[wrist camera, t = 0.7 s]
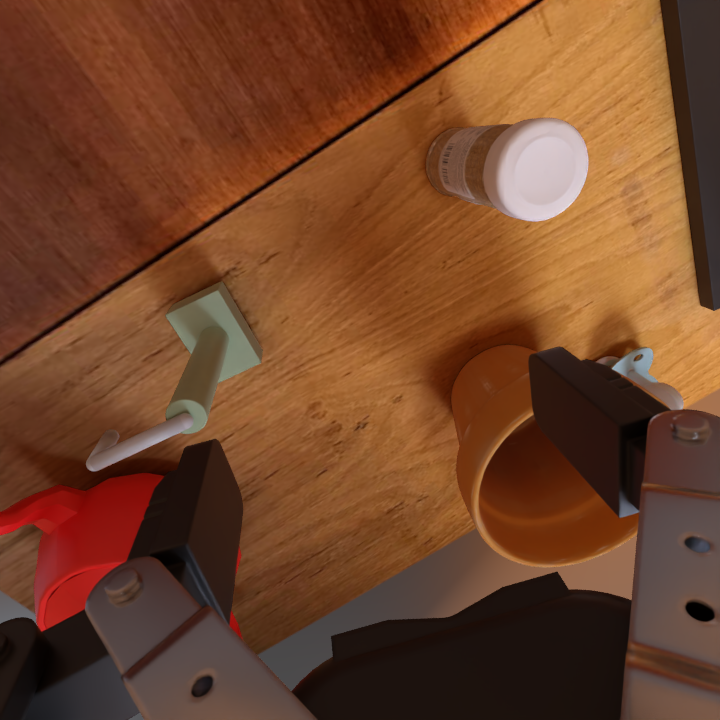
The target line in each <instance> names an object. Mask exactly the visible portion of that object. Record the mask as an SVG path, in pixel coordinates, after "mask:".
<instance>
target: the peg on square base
mask: <svg viewBox="0 0 720 720" xmlns="http://www.w3.org/2000/svg"><path fill="white" fill-rule="evenodd" d="M165 316H166V318H167V319H168V321H169V322H170V324H171V325H172V327H173V328H174V330H175V331H176V333H177V334H178V336H179V337H180V339H181V340H182V342H183V343H184V345H185V346H186V348H187V349H188V351H189V352H190V354H191V357H190V359H189V361H188V363H187V366H186V368H185V370H184V372H183V374H182V377H181V379H180V381H179V383H178V386H177V388H176V390H175V392H174V394H173V397H172V399H171V401H170V403H169V406H168V408H167V410H166V420H167V421H165V422H163V423H161V424H159V425H157V426H154V427H152V428H150V429H148V430H146V431H144V432H142V433H139V434H137V435H135V436H133V437H131V438H129V439H127V440H124V441H122V442H120V443H118V444H116V443H117V441H118V439H119V434H118V432H117V431H116V430H113V429H110V430H107V431H106V432H105V433H104V434H103V435H102V437H101V439H100V440H99V442H98V443H97V445H96V447H95V448H94V450H93V451H92V453H91V454H90V456H89V458H88V459H87V461H86V466H87V468H88V469H89V470H90V471H98V470H101V469H103V468H105V467H107V466H109V465H111V464H113V463H116V462H118V461H120V460H122V459H124V458H126V457H129V456H131V455H133V454H135V453H137V452H139V451H141V450H144V449H146V448H148V447H150V446H152V445H154V444H157V443H159V442H161V441H163V440H165V439H167V438H169V437H172V436H174V435H176V434H178V433H184V434H191V433H195V432H198V431H199V430H201V429H202V428H203V427H204V426H205V424H206V422H207V419H208V415H209V412H210V408H211V405H212V402H213V398H214V395H215V391H216V388H217V384H218V383H219V382H221V381H224V380H226V379H228V378H230V377H232V376H234V375H236V374H239V373H241V372H243V371H245V370H247V369H249V368H251V367H253V366H256V365H258V364H260V363H261V360H262V352H263V350H262V348H261V346H260V345H259V343H258V341H257V340H256V338H255V336H254V334H253V333H252V331H251V329H250V328H249V326H248V324H247V322H246V321H245V319H244V317H243V316H242V314H241V312H240V311H239V309H238V307H237V305H236V304H235V302H234V300H233V299H232V297H231V295H230V294H229V292H228V290H227V288H226V287H225V285H224V283H223V282H222V281H221V282H219V283H216V284H214V285H212V286H210V287H208V288H206V289H204V290H202V291H200V292H198V293H196V294H194V295H191V296H189V297H187V298H185V299H183V300H181V301H179V302H177V303H175V304H173V305H172V306H171V308H170V309H169V310H168V312H167V313H166V315H165Z"/></svg>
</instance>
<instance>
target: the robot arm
mask: <svg viewBox="0 0 720 720" xmlns="http://www.w3.org/2000/svg"><path fill="white" fill-rule="evenodd" d="M528 367H529V378H530V388H531V399H532V409H533V413H534V417H535V420H536V422H537V424H538V426H539V428H540V429H541V431H542V432H543V433H544V434H545V435H546V436H547V438H548V439H549V440H550V441H551V442H552V443H553V444H554V445H555V447H556V448H557V449H558V450H559V451H560V452H561V453H562V454H563V455H564V457H565V458H566V459H567V460H568V461H569V462H570V463H571V464H572V466H573V467H574V468H575V469H576V470H577V471H578V472H579V473H580V475H581V476H582V477H583V478H584V479H585V480H586V481H587V482H588V483H589V485H590V486H591V487H592V488H593V489H594V490H595V491H596V492H597V494H598V495H599V496H600V497H601V498H602V499H603V500H604V501H605V503H606V504H607V505H608V506H609V507H610V508H611V509H612V510H613V511H614V513H615V514H616V515H617V516H618V517H619V518H622V517H625V516H629V515H632V514H636V513H639V519H638V531H637V543H636V555H635V568H634V579H633V591H632V600H629V599H626V598H623V597H620V596H616V595H612V594H609V593H604V592H598V591H591V590H569V589H568V588H567V586H566V585H565V583H564V581H563V580H562V578H561V577H560V575H559V574H558V572H555V573H551V574H547V575H544V576H540V577H537V578H533V579H530V580H526V581H523V582H519V583H516V584H512V585H509V586H505V587H502V588H500V589H499V590H497V591H495V592H493V593H492V594H490V595H488V596H486V597H485V598H483V599H481V600H480V601H478V602H476V603H474V604H473V605H471V606H469V607H467V608H466V609H464V610H462V611H460V612H459V613H457V614H455V615H453V616H450V617H446V618H428V619H406V620H405V619H403V620H387V621H382V622H379V623H375V624H372V625H369V626H365V627H361V628H358V629H354V630H351V631H347V632H344V633H341V634H337V635H334V636H331V639H332V651H333V657H332V658H330V659H329V660H327V661H325V662H323V663H322V664H321V665H319V666H318V667H316V668H315V669H314V670H312V671H311V672H310V673H309V674H308V675H307V676H306V677H305V678H304V679H302V680H301V681H300V682H299V684H298V685H297V686H296V687H295V688H294V689H293V690H292V691H290V690H289V689H288V688H287V687H286V685H284V684H283V682H282V681H281V680H280V679H279V678H278V677H277V676H276V675H275V674H274V673H273V672H272V671H271V670H270V668H268V666H266V664H265V663H264V662H263V661H262V660H261V659H260V658H259V657H258V656H257V655H256V654H255V653H254V651H253V650H252V649H251V648H250V647H249V646H248V645H247V644H246V643H245V642H244V641H243V640H242V639H241V638H240V637H239V636H238V634H237V633H236V632H235V631H234V630H233V629H232V628H231V627H230V626H229V625H230V616H231V608H232V600H233V591H234V583H235V575H236V566H237V558H238V550H239V541H240V533H241V525H242V516H243V503H242V497H241V493H240V490H239V487H238V484H237V482H236V480H235V477H234V475H233V472H232V470H231V468H230V465H229V463H228V461H227V458H226V456H225V453H224V451H223V449H222V446H221V444H220V443H219V441H218V440H217V439H213V440H209V441H205V442H201V443H198V444H194V445H190V446H187V447H185V448H184V451H183V454H182V456H181V459H180V462H179V465H178V468H177V470H174V471H170V472H168V473H167V474H166V475H165V476H164V478H163V479H162V480H161V481H160V482H159V483H158V485H157V486H156V487H155V488H154V491H153V493H152V496H151V499H150V501H149V506H148V507H147V509H146V511H145V514H144V520H142V522H141V524H140V527H139V530H138V532H137V535H136V537H135V540H134V542H133V545H132V548H131V550H130V553H129V555H128V558H127V561H126V562H124V563H122V564H120V565H118V566H117V567H115V568H114V569H112V570H111V571H110V572H108V573H107V574H106V575H105V576H104V577H102V578H101V579H100V580H99V581H98V583H97V584H96V585H95V586H94V588H93V589H92V590H91V592H90V594H89V595H88V598H87V600H86V604H85V609H84V610H82V611H80V612H79V613H77V614H75V615H73V616H71V617H69V618H67V619H65V620H63V621H61V622H59V623H58V624H56V625H54V626H52V627H50V628H48V629H46V630H44V631H41V630H40V629H39V627H38V626H37V625H36V623H35V622H34V621H33V620H32V619H29V618H24V617H21V618H15V619H11V620H8V621H5V622H3V623H1V624H0V720H128V719H130V718H132V717H133V716H135V715H137V714H138V713H141V715H142V717H143V718H144V720H720V417H718V416H715V415H713V414H710V413H706V412H702V411H697V410H685V409H680V410H671V409H669V408H668V407H667V406H665V405H664V404H662V403H661V402H659V401H658V400H656V399H655V398H653V397H652V396H651V395H649V394H648V393H646V392H645V391H643V390H642V389H640V388H639V387H637V386H634V385H633V383H632V382H630V381H629V380H627V379H626V378H624V377H623V378H622V377H621V375H620V374H618V373H617V372H616V371H614V370H613V369H611V368H610V367H608V366H607V365H604V364H600V363H597V362H594V361H591V360H588V359H585V360H582V361H581V360H579V359H578V358H576V357H575V356H574V355H572V354H571V353H570V352H568V351H567V350H565V349H564V348H563V347H555V348H552V349H548V350H544V351H541V352H537V353H533V354H531V355H530V356H529V359H528Z"/></svg>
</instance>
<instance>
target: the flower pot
mask: <svg viewBox="0 0 720 720" xmlns="http://www.w3.org/2000/svg"><path fill="white" fill-rule="evenodd" d="M533 353H537V351H534V350H531V349H528V348H525V347H522V346H518V345H501V346H496V347H493V348H490V349H487V350H485V351H483V352H481V353H480V354H478V355H477V356H475V357H474V358H472V359H471V360H470V361H469V362H468V363H467V364H466V365H465V366H464V367H463V368H462V370H461V371H460V373H459V374H458V376H457V378H456V380H455V382H454V385H453V388H452V394H451V405H452V411H453V416H454V421H455V426H456V431H457V436H458V440H459V445H460V447H459V451H458V456H457V464H456V472H457V480H458V485H459V488H460V491H461V494H462V497H463V499H464V502H465V504H466V507H467V509H468V511H469V513H470V515H471V517H472V519H473V522H474V524H475V526H476V528H477V530H478V532H479V533H480V535H481V537H482V538H483V539H484V540H485V542H486V543H487V544H488V545H489V546H490V547H491V548H492V549H493V550H495V551H496V552H497V553H499V554H500V555H502V556H504V557H506V558H507V559H509V560H512V561H514V562H517V563H520V564H524V565H529V566H537V567H557V566H566V565H572V564H576V563H580V562H584V561H587V560H590V559H593V558H596V557H598V556H600V555H603V554H605V553H607V552H609V551H611V550H613V549H615V548H617V547H618V546H620V545H622V544H623V543H625V542H626V541H628V540H629V539H631V538H632V537H634V536H635V535H636V534H637V531H638V519H639V513H636V514H632V515H629V516H625V517H622V518H619V517H618V516H617V515H616V514H615V513H614V511H613V510H612V509H611V508H610V507H609V506H608V505H607V504H606V503H605V501H604V500H603V499H602V498H601V497H600V496H599V495H598V494H597V492H596V491H595V490H594V489H593V488H592V487H591V486H590V485H589V483H588V482H587V481H586V480H585V479H584V478H583V477H582V476H581V475H580V473H579V472H578V471H577V470H576V469H575V468H574V467H573V466H572V464H571V463H570V462H569V461H568V460H567V459H566V458H565V457H564V455H563V454H562V453H561V452H560V451H559V450H558V449H557V448H556V447H555V445H554V444H553V443H552V442H551V441H550V440H549V439H548V438H547V436H546V435H545V434H544V433H543V432H542V431H541V429H540V428H539V426H538V424H537V422H536V420H535V417H534V413H533V409H532V399H531V388H530V378H529V367H528V359H529V356H530V355H531V354H533ZM614 371H615V370H614ZM616 372H617V371H616ZM617 373H618V374H620V373H619V372H617ZM620 375H621V377H622V378H623V377H624V378H626V379H627V380H629V381H630V382H632V383H633V385H634V386H637V387H639V388H640V389H642V390H643V391H645V392H646V393H648V394H649V395H651V396H652V397H653V398H655V399H656V400H658V401H659V402H661V403H662V404H664V405H665V406H667V405H666V404H665V403H664V402H663V401H662V400H661V399H660V398H658V397H657V396H655V395H654V394H652V393H651V392H649V391H648V390H646V389H645V388H643V387H642V386H640V385H639V384H637V383H636V382H634V381H633V380H631V379H629V378H628V377H626V376H624V375H622V374H620ZM667 407H668V406H667ZM668 408H669V407H668ZM669 409H670V408H669Z"/></svg>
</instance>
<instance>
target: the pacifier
mask: <svg viewBox="0 0 720 720" xmlns="http://www.w3.org/2000/svg"><path fill="white" fill-rule="evenodd" d="M640 354H641V356H640V357H639V358H638V359H637V360H634V358H635V357H636V356H637V355H640ZM652 360H653V351H652V350H651V349H650V348H647V347H640V348H638V349H635V350H633V351H631V352H629V353H628V354H626V355H624V356H623V357H621V358H617V357H614V356H607V357H603V358H601V359H599V360H598V361H596V362H597V363H600V364H604V365H607V366H611V365H612V366H611V367H610V368H611V369H613V370H615V371H617V372H619V373H620V374H622V375H624V376H626V377H628V378H629V379H631V380H633V381H634V382H636V383H637V384H639V385H640V386H642V387H643V388H645V389H646V390H648V391H649V392H651V393H652V394H654V395H655V396H657V397H658V398H660V399H661V400H662V401H663V402H664V403H665V404H666V405H667V406H668V407H669V408H670V409H671V410H680V409H683V399H682V396H681V395H680V393H679V392H678V391H677V390H676V389H675V388H673V387H672V386H670V385H668V384H665V383H659V382H658V381H657V380H656V379H655V378H654V377H653V376H651V375H649V373H648V370H649V368H650V366H651V364H652Z"/></svg>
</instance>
